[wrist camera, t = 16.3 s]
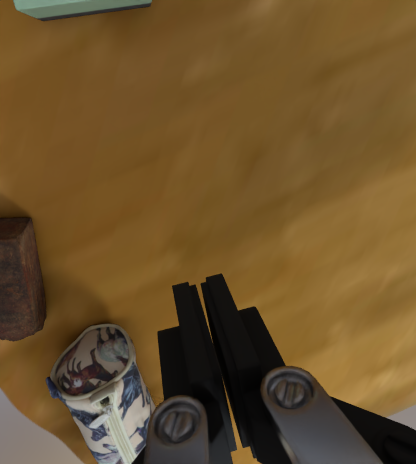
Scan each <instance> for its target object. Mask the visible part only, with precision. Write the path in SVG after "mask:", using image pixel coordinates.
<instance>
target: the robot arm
mask: <svg viewBox="0 0 416 464" xmlns="http://www.w3.org/2000/svg"><path fill="white" fill-rule="evenodd" d="M172 288H173V294H174V299H175V304H176V310H177V315H178V321H179V326H177V327H173V328H169V329H165V330H161V331H158V345H159V355H160V364H161V374H162V384H163V394H164V401H163V402H161V403H160V404H159V405H158V406H157V407H156V408H155V410H154V411H153V413H152V414H151V416H150V419H149V423H148V428H147V437H146V445H145V447H144V448H143V449H142V450H141V452H140V453H139V454H138V456H137V457H136V458H135V460H134V461H133V462H132V463H131V464H233V462H232V457H231V453H230V452H232V451H235V450H237V447H236V442H235V437H234V432H233V428H232V423H231V418H230V413H229V408H228V403H227V398H226V393H225V388H226V392H227V395H228V399H229V402H230V406H231V409H232V412H233V416H234V419H235V423H236V426H237V430H238V433H239V437H240V440H241V443H242V447H243V448H245V447H249V446H250V448H251V451H252V454H253V458H257V461H258V462H260V463H262V464H416V430H414V429H412V428H410V427H408V426H405V425H403V424H401V423H398V422H395V421H392V420H390V419H387V418H385V417H382V416H380V415H377V414H375V413H372V412H369V411H367V410H364V409H362V408H359V407H357V406H354V405H351V404H349V403H346V402H344V401H341V400H338V399H336V398H333V397H331V396H329V395H328V394H327V392H326V391H325V390H324V389H323V387H322V386H321V385H320V384H319V382H318V381H317V380H316V379H315V378H314V377H313V376H312V375H311V374H310V373H309V372H308V371H306V370H304V369H302V368H299V367H294V366H286V365H285V363H284V361H283V359H282V357H281V355H280V353H279V351H278V349H277V348H276V346H275V344H274V342H273V340H272V338H271V336H270V334H269V332H268V330H267V328H266V326H265V324H264V322H263V320H262V318H261V316H260V314H259V312H258V310H257V308H256V307H255V306H254V307H250V308H246V309H242V310H239V311H238V310H237V307H236V305H235V303H234V300H233V298H232V296H231V293H230V291H229V289H228V286H227V284H226V282H225V279H224V277H223V275H222V274H218V275H214V276H210V277H206V282H204V283H201V288H202V293H203V298H204V303H205V308H206V312H207V317H208V322H209V327H210V331H211V336H212V339H211V336H210V332H209V329H208V326H207V322H206V319H205V315H204V312H203V308H202V305H201V301H200V298H199V295H198V291H197V288H196V285H192V286H189V283H188V282H185V283H181V284H177V285H173V286H172ZM212 341H213V343H212ZM221 374H222V375H221ZM222 378H223V379H222ZM223 381H224V383H223ZM224 385H225V388H224Z"/></svg>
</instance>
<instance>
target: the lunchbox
mask: <svg viewBox="0 0 416 464" xmlns="http://www.w3.org/2000/svg"><path fill="white" fill-rule="evenodd" d="M13 1H14V4H15V8H16V10H18V11H20V12H22V13H25V14H27V15H30V16H32V17H34V18H37V19H39V20H42V21H48V20H55V19H62V18H70V17H77V16H84V15H92V14H99V13H106V12H113V11H121V10H128V9H135V8H143V7H149V6H150V5H151V2H152V0H13Z"/></svg>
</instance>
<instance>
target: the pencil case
mask: <svg viewBox="0 0 416 464" xmlns="http://www.w3.org/2000/svg"><path fill="white" fill-rule="evenodd" d="M46 383H47V385H48V388H49V391H50V394H51V397H52V398H59V399H60V400H61V401H62V402H63V403H64V404H65V405H66V406H67V407H68V408H69V410H70V412H71V414H72V417H73V419H74V421H75V422H76V424H77V425H78V427H79V428H80V431H81V433H82V435H83V437H84V440H85V442H86V444H87V446H88V448H89V449H90V451H91V453H92V455H93V456H94V458H95V459H96V461H97V462H98V464H131V463H132V462H133V461H134V460H135V458H136V457H137V456H138V454H139V453H140V452H141V450H142V449H143V448H144V447H145V445H146V437H147V428H148V423H149V419H150V416H151V414H152V413H153V411H154V410H155V408H156V407H155V405H154V403H153V401H152V399H151V396H150V393H149V391H148V389H147V387H146V385H145V384H144V382H143V379H142V377H141V374H140V372H139V370H138V367H137V364H136V354H135V348H134V345H133V343H132V341H131V339H130V337H129V336H128V334H127V332H126V331H125V330H124V329H123V328H122V327H120V326H119V325H116V324H100V325H96V326H94V325H92V326H90V327H89V328H87V329H86V330H84V332H83V333H82V334H81V335H80V336H79V337H78V338H77V339H76V340H75V341H74V342H73V343H72V344H71V345H70V346H69V347H68V348H67V349H66V350H65V351H64V352H63V353H62V354H61V355H60V357H59V358H58V359H57V361H56V362H55V364H54V366H53V368H52V371H51V375H50V377H47V378H46Z"/></svg>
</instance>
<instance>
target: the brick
mask: <svg viewBox="0 0 416 464" xmlns="http://www.w3.org/2000/svg"><path fill="white" fill-rule="evenodd" d="M45 319H46V303H45V295H44V288H43V282H42V276H41V270H40V264H39V259H38V252H37V246H36V240H35V234H34V230H33V223H32V220H31V218H0V339H1V340H5V339H6V340H9V341H18V340H21V339H24V338H25V337H28V336H31V335H34V334H35V333H36V332H38V331H40V330H42V329H43V326H44V322H45Z"/></svg>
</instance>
